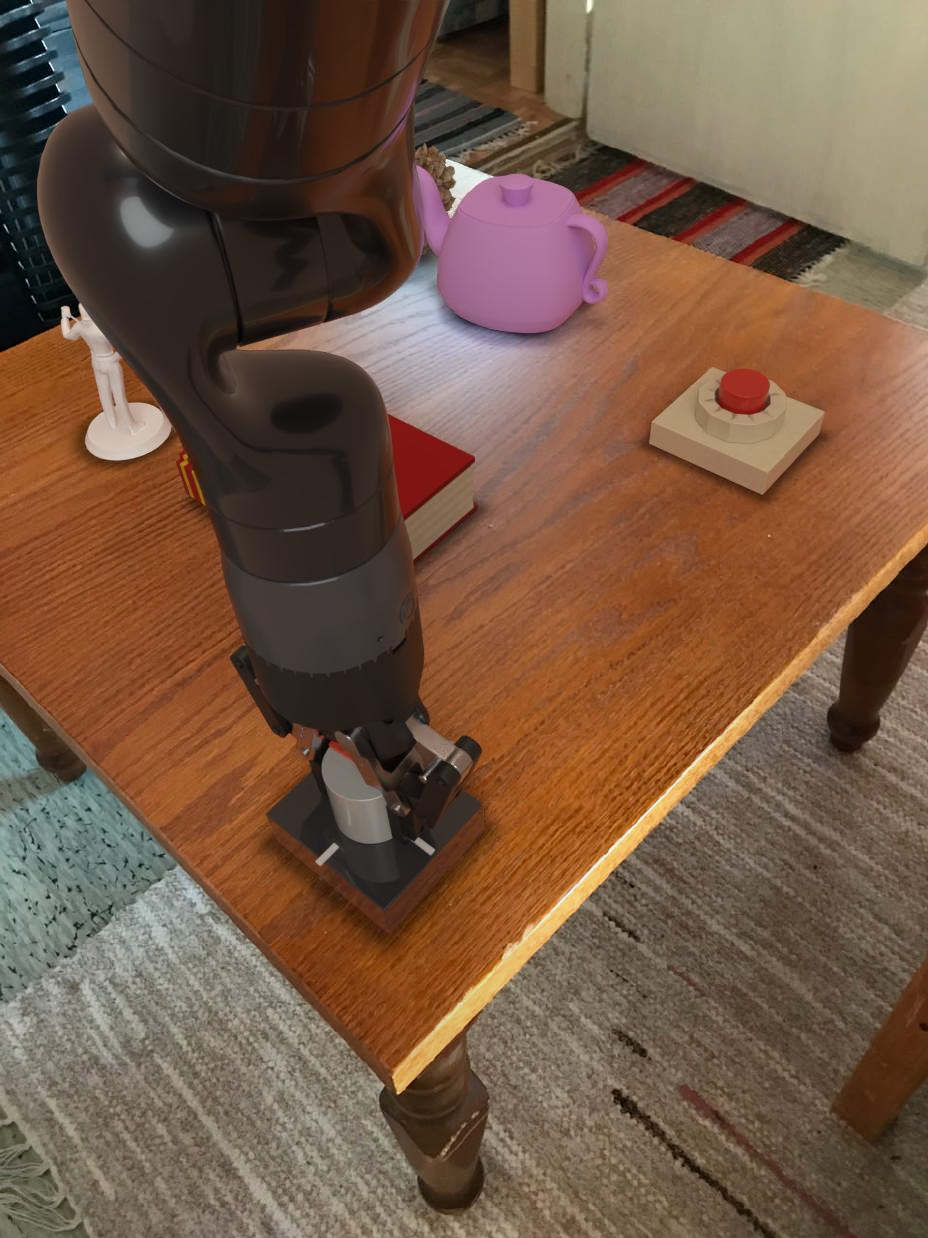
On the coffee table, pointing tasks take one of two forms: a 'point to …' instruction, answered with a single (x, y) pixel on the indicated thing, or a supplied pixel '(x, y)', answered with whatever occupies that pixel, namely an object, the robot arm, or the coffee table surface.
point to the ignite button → (743, 391)
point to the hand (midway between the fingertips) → (373, 806)
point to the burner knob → (354, 799)
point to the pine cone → (437, 177)
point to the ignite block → (736, 433)
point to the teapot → (515, 252)
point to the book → (411, 484)
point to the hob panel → (373, 852)
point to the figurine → (126, 423)
